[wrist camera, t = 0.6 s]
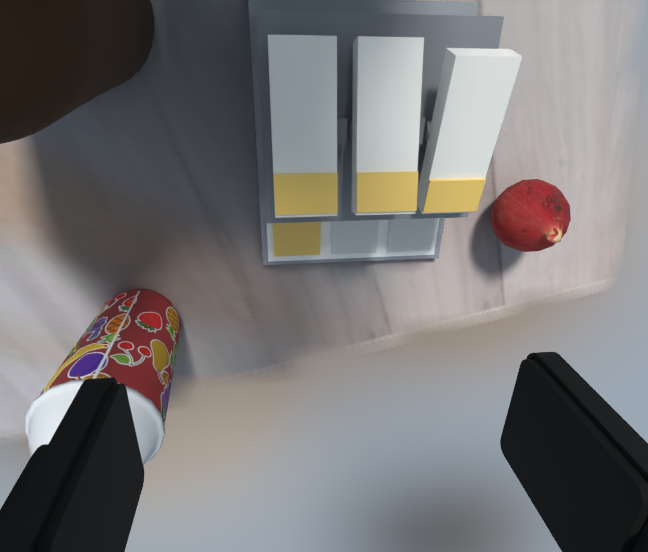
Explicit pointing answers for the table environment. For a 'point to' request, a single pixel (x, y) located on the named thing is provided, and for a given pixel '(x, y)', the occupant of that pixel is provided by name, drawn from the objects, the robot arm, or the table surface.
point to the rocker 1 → (304, 124)
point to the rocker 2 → (385, 124)
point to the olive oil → (65, 56)
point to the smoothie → (117, 367)
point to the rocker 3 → (465, 127)
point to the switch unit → (347, 24)
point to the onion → (530, 215)
